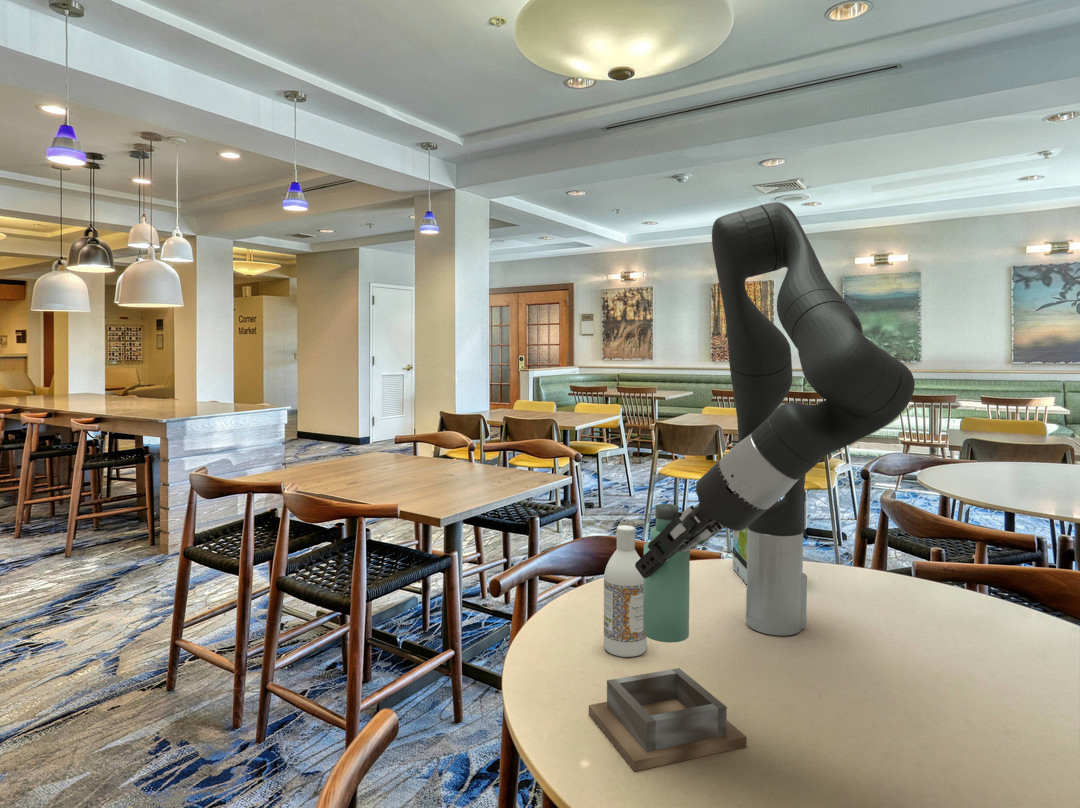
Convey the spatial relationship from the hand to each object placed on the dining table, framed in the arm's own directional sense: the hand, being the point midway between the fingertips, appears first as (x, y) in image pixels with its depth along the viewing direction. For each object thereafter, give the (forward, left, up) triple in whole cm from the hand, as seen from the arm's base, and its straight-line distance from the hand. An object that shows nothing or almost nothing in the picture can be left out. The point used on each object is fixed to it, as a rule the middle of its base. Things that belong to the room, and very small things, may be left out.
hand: (653, 565), depth 81 cm
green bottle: (-1, +2, -8) cm, 8 cm away
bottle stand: (-1, +1, -21) cm, 21 cm away
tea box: (-51, -44, -21) cm, 70 cm away
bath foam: (-7, -22, -21) cm, 31 cm away
